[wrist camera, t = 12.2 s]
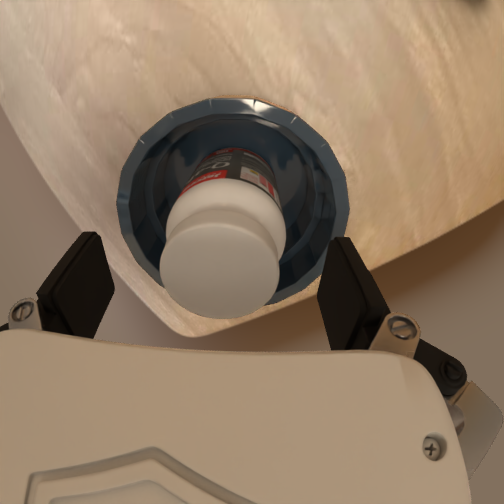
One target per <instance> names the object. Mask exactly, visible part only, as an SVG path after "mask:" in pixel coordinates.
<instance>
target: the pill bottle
mask: <svg viewBox="0 0 504 504" xmlns="http://www.w3.org/2000/svg"><path fill="white" fill-rule="evenodd" d="M166 239H167V241H166V244H165V247H164V250H163V252H162V255H161V259H160V276H161V280H162V283H163V285H164V287H165V289H166V291H167V292H168V294H169V295H170V296H171V297H172V298H173V300H174V301H176V302H177V303H178V304H179V305H180V306H182V307H183V308H185V309H186V310H188V311H190V312H192V313H195V314H197V315H200V316H204V317H208V318H214V319H231V318H237V317H242V316H245V315H248V314H250V313H253V312H255V311H256V310H258V309H259V308H261V307H262V306H264V305H265V304H266V303H267V302H268V301H269V300H270V299H271V297H272V296H273V294H274V293H275V291H276V288H277V285H278V282H279V272H280V270H279V260H280V258H281V256H282V254H283V251H284V247H285V242H286V228H285V221H284V216H283V212H282V207H281V202H280V198H279V193H278V188H277V184H276V179H275V176H274V173H273V171H272V169H271V168H270V166H269V165H268V164H267V162H266V161H265V160H264V159H263V158H261V157H260V156H259V155H257V154H256V153H254V152H252V151H249V150H246V149H242V148H224V149H221V150H218V151H215V152H213V153H211V154H210V155H208V156H207V157H206V158H204V159H203V160H202V161H201V162H200V164H199V165H198V166H197V167H196V169H195V171H194V172H193V174H192V175H191V177H190V179H189V180H188V182H187V183H186V185H185V187H184V188H183V190H182V192H181V194H180V195H179V197H178V198H177V200H176V202H175V203H174V205H173V207H172V209H171V212H170V214H169V217H168V220H167V226H166Z"/></svg>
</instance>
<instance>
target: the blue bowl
mask: <svg viewBox="0 0 504 504" xmlns="http://www.w3.org/2000/svg"><path fill="white" fill-rule="evenodd" d="M224 148H242V149H246V150H249V151H252V152H254V153H256V154H257V155H259V156H260V157H261V158H263V159H264V160H265V161H266V162H267V164H268V165H269V166H270V168H271V169H272V171H273V173H274V176H275V179H276V184H277V188H278V193H279V198H280V202H281V207H282V212H283V216H284V221H285V228H286V242H285V247H284V251H283V254H282V256H281V258H280V260H279V270H280V272H279V282H278V285H277V288H276V291H275V293H274V294H273V296H272V297H271V299H270V300H269V301H268V302H267V303H266V304H265V305H270V304H274V303H277V302H279V301H282V300H284V299H286V298H288V297H290V296H292V295H294V294H296V293H298V292H300V291H302V290H304V289H305V288H306V287H307V286H308V285H309V284H311V283H312V282H313V281H314V280H315V279H316V278H317V277H319V276H320V275H321V274H322V271H323V267H324V263H325V258H326V254H327V249H328V245H329V241H330V240H334V238H335V237H344V234H345V230H346V226H347V221H348V216H349V210H350V206H349V198H348V191H347V183H346V177H345V174H344V172H343V170H342V168H341V166H340V164H339V162H338V160H337V158H336V157H335V155H334V153H333V151H332V149H331V147H330V146H329V144H328V142H327V141H326V140H325V139H324V138H323V137H322V136H320V135H319V134H318V133H317V132H316V131H315V130H314V129H313V128H311V127H310V126H309V125H308V124H307V123H306V122H305V121H303V120H302V119H301V118H300V117H299V116H298V115H296V114H294V113H293V112H291V111H289V110H288V109H286V108H284V107H282V106H280V105H277V104H275V103H272V102H269V101H267V100H264V99H261V98H258V97H256V96H241V95H222V96H217V97H213V98H209V99H206V100H202V101H199V102H196V103H194V104H191V105H188V106H185V107H182V108H180V109H177V110H174V111H172V112H170V113H168V114H167V115H166V116H165V117H163V118H162V119H161V120H160V121H158V122H157V123H156V124H155V125H154V126H152V127H151V128H150V129H149V130H148V131H147V132H145V133H144V134H143V135H142V136H141V137H140V138H139V140H138V141H137V143H136V145H135V146H134V148H133V150H132V152H131V153H130V155H129V157H128V159H127V160H126V162H125V164H124V166H123V168H122V170H121V175H120V181H119V187H118V194H117V201H116V206H117V212H118V217H119V223H120V228H121V233H122V235H123V238H124V240H125V242H126V243H127V245H128V247H129V249H130V251H131V253H132V255H133V256H134V258H135V260H136V262H137V263H138V264H139V265H140V266H141V267H142V268H143V269H144V270H145V271H146V272H147V273H148V274H149V275H150V276H151V277H152V278H153V279H154V280H155V281H156V282H157V283H158V284H159V285H160V286H162V287H164V285H163V283H162V280H161V276H160V259H161V255H162V252H163V250H164V247H165V244H166V241H167V239H166V226H167V220H168V217H169V214H170V212H171V209H172V207H173V205H174V203H175V202H176V200H177V198H178V197H179V195H180V194H181V192H182V190H183V188H184V187H185V185H186V183H187V182H188V180H189V179H190V177H191V175H192V174H193V172H194V171H195V169H196V167H197V166H198V165H199V164H200V162H201V161H202V160H203V159H204V158H206V157H207V156H208V155H210V154H211V153H213V152H215V151H218V150H221V149H224ZM164 288H165V287H164ZM265 305H264V306H265Z"/></svg>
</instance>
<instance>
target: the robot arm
mask: <svg viewBox="0 0 504 504" xmlns="http://www.w3.org/2000/svg"><path fill="white" fill-rule="evenodd" d="M114 290H115V287H114V282H113V279H112V276H111V272H110V269H109V265H108V262H107V258H106V255H105V251H104V247H103V243H102V239H101V237H100V235H98V234H97V233H96V232H83V233H82V234H81V235H80V236H79V237H78V239H77V240H76V241H75V242H74V243H73V244H72V246H71V247H70V248H69V249H68V251H67V252H66V253H65V254H64V256H63V257H62V258H61V260H60V261H59V262H58V263H57V265H56V266H55V267H54V269H53V270H52V271H51V273H50V274H49V276H48V277H47V278H46V280H45V281H44V282H43V284H42V285H41V287H40V288H39V290H38V291H37V293H36V294H37V296H38V298H39V299H38V300H37V302H36V301H35V300H34V299H32V298H25V299H22V300H20V301H18V302H17V303H16V304H15V305H14V306H13V307H12V308H11V309H10V312H9V315H8V323H6V324H4V325H3V326H1V327H0V504H472V501H471V494H470V487H469V482H468V481H469V479H470V477H471V476H472V475H473V473H474V472H475V471H476V469H477V468H478V466H479V464H480V463H481V461H482V460H483V458H484V457H485V455H486V454H487V452H488V450H489V449H490V447H491V445H492V443H493V442H494V440H495V438H496V436H497V434H498V433H499V431H500V429H501V427H502V424H503V415H502V412H501V410H500V409H499V407H498V406H497V405H496V404H495V403H494V402H493V401H492V400H491V399H490V398H489V397H488V396H487V395H486V394H485V393H484V392H483V391H482V390H481V389H480V388H479V387H478V386H477V385H476V384H475V383H474V382H473V381H471V382H470V383H469V382H468V381H467V374H466V370H465V368H464V366H463V365H462V364H461V362H460V361H458V360H457V359H455V358H454V357H452V356H450V355H448V354H447V353H445V352H443V351H441V350H439V349H438V348H436V347H434V346H432V345H431V344H429V343H427V342H425V341H424V340H422V339H420V335H421V330H420V327H419V325H418V324H417V322H416V321H415V320H414V319H413V318H412V317H410V316H408V315H406V314H404V313H399V312H394V313H391V312H390V310H389V308H388V306H387V304H386V302H385V300H384V298H383V296H382V294H381V292H380V290H379V288H378V286H377V284H376V282H375V281H374V279H373V277H372V275H371V273H370V272H369V270H367V268H366V266H365V264H364V262H363V261H362V259H361V257H360V255H359V253H358V252H357V250H356V248H355V246H354V245H353V243H352V241H351V239H350V238H349V237H335V238H334V240H330V241H329V245H328V249H327V254H326V258H325V263H324V267H323V271H322V275H321V280H320V284H319V288H318V292H317V299H318V303H319V306H320V310H321V314H322V318H323V321H324V325H325V329H326V332H327V336H328V340H329V344H330V348H331V351H305V352H303V351H302V352H232V351H208V350H190V349H176V348H164V347H153V346H143V345H134V344H125V343H117V342H110V341H103V340H96V339H93V338H94V336H95V334H96V331H97V329H98V327H99V324H100V322H101V320H102V318H103V315H104V313H105V311H106V309H107V307H108V305H109V302H110V300H111V298H112V296H113V294H114Z"/></svg>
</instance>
